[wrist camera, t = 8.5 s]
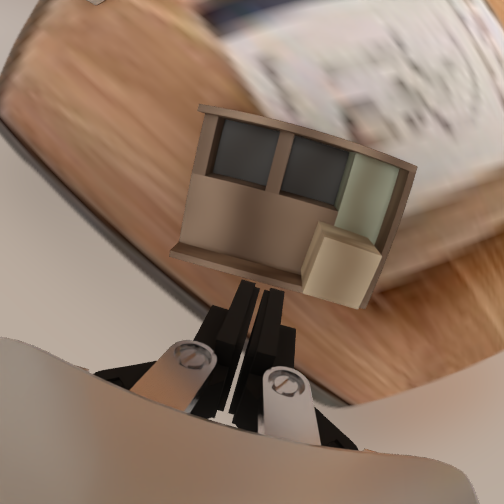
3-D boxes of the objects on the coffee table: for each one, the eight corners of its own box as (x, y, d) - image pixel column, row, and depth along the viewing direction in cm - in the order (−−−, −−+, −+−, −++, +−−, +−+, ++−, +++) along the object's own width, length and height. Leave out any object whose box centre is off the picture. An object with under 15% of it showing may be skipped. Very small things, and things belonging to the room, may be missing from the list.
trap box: (396, 162, 22) (417, 166, 18) (354, 283, 26) (365, 309, 22) (214, 110, 23) (199, 103, 18) (187, 238, 26) (169, 256, 22)
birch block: (367, 237, 22) (382, 256, 18) (348, 284, 23) (357, 309, 20) (318, 220, 22) (324, 236, 18) (300, 269, 23) (302, 293, 20)
